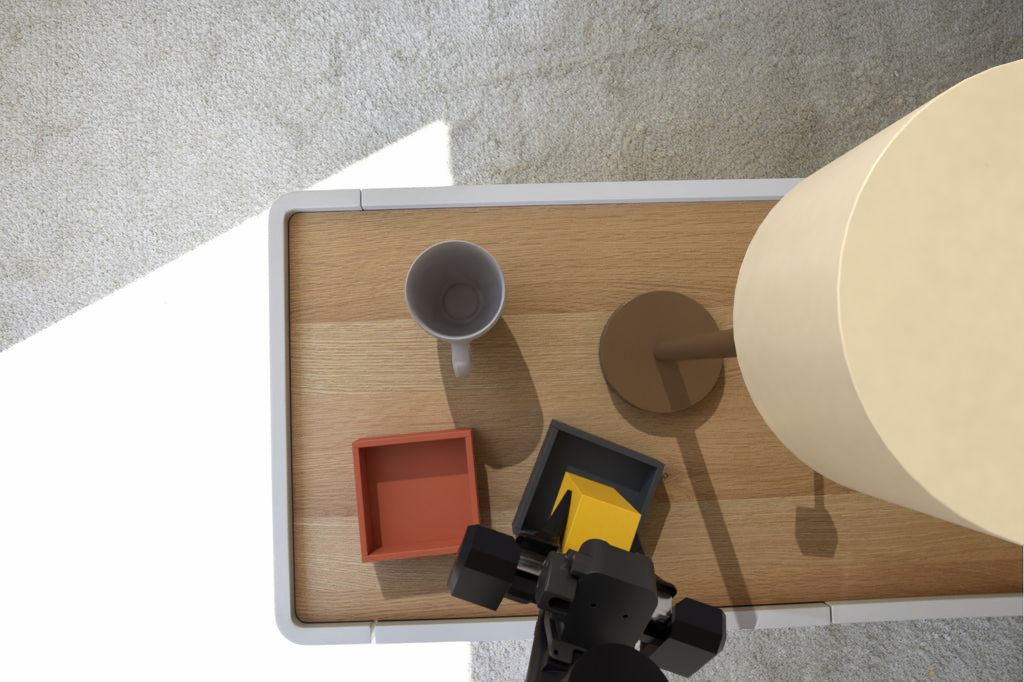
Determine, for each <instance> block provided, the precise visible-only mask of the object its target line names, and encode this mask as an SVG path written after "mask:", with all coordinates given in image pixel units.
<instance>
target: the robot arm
mask: <svg viewBox="0 0 1024 682" xmlns="http://www.w3.org/2000/svg"><path fill="white" fill-rule="evenodd" d="M571 497H572V490H569V489H568V490H567V491H566V493H565V494H564V496H563V498H562V499H561V501H560V502H559V504H558V506H557V507H556V509H555V510H554V512H553V514H552V515H551V517H550V518H549V520H548V521H547V522H546V523H545V525H544V526H543V527H542V528H541V529H540V530H539V531H538V532H537V533H535V534H534V535H531V534H528V533H520V534H518V535H516V536H515V537H514V536H513V535H510V534H507V533H504V532H501V531H499V530H495V529H494V528H493V529H492V528H490V527H487V526H484V525H482V524H481V525H479V524H475V525H469V526H468V527H467V529H466V532H465V534H464V537H463V539H462V542H461V544H460V547H459V549H458V552H457V553H455V557H454V560H453V562H452V564H451V569H450V571H449V574H448V577H447V580H446V587H447V589H448V593H449V594H450V596H451V597H453V598H455V599H459V600H461V601H464V602H467V603H471V604H474V605H476V606H479V607H482V608H485V609H487V610H491V611H494V612H497V611H498V609H499V608H500V606H501V603H502V602H503V600H504V599H507V600H509V601H512V602H515V603H518V604H521V605H529V604H533V605H536V608H537V609H539V610H538V615H537V619H536V622H535V625H534V630H533V641H532V645H531V651H530V656H529V661H528V665H527V670H526V676H525V679H524V682H670V681H669V680H668V679H669V678H668V677H667V675H665V674H664V671H666V672H669V673H671V674H674V675H678V676H680V677H683V678H686V679H689V678H691V677H692V676H693V675H695V674H696V673H697V672H699V671H700V670H701V669H703V667H705V666H706V665H707V664H708V663H709V662H711V661H712V660H713V659H714V658H715V657H716V656H718V655H719V654H721V652H723V651H724V648H725V645H726V641H727V639H728V638H727V637H728V636H727V635H728V634H727V614H726V613H725V612H724V610H723V609H722V608H719V607H716V606H713V605H711V604H707V603H705V602H702V601H700V600H696V599H693V598H691V597H687V596H686V597H684V598H682V599H681V600H679V601H678V602H676V603H674V605H673V599H674V598H675V597H677V595H678V589H677V587H676V585H675V584H673V583H671V582H669V581H666V580H664V579H663V578H662V577H660V576H659V575H658V574H657V573H656V572H655V564H654V561H653V560H652V559H651V558H650V557H649V556H647V554H645V551H644V549H643V546H642V542H641V539H640V537H639V536H640V535H639V536H638V533H637V530H636V533H635V536H634V539H633V542H632V545H631V548H630V551H627V550H624V549H621V548H618V547H615V546H612V545H610V544H609V543H608V542H606V541H604V540H601V539H589V540H586V541H585V542H584V543H583V544H582V545H581V547H580V549H579V551H575V550H572V549H568V551H567V552H566V553H564V554H562V553H561V552H559V551H557V550H558V549H559V539H560V536H561V532H562V529H563V526H564V523H565V520H566V517H567V514H568V511H569V508H570V504H571ZM638 643H639V649H637V648H636V645H637V644H638ZM662 670H663V671H662Z"/></svg>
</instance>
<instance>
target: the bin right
mask: <svg viewBox="0 0 1024 682" xmlns="http://www.w3.org/2000/svg"><path fill="white" fill-rule="evenodd" d="M665 467H666V464H665V463H664V462H662V461H660V460H658V459H657V458H654V457H651V456H648V455H647V454H644V453H641V452H639V451H636V450H633V449H631V448H629V447H626V446H624V445H621V444H618V443H616V442H612V441H610V440H608V439H605V438H603V437H600V436H598V435H595V434H593V433H590V432H587V431H585V430H582V429H580V428H577V427H575V426H573V425H570V424H567V423H565V422H562V421H559V420H557V419H554V418H552V419H551V420H550V423H549V426H548V428H547V431H546V433H545V436H544V439H543V442H542V444H541V447H540V448H539V452H538V455H537V457H536V460H535V463H534V465H533V467H532V470H531V473H530V474H529V475H530V476H529V478H528V480H527V483H526V486H525V488H524V491H523V494H522V496H521V499H520V501H519V505H518V506H517V509H516V512H515V514H514V517H513V520H512V522H511V531H512V534H513V535H516V536H517V535H518V534H520V533H528V534H531V535H534V534H535V533H537V532H538V531H539V530H540V529H541V528H542V527H543V526H544V525H545V523H546V522H547V521H548V520H549V518H550V517H551V514H552V511H553V508H554V505H555V502H556V499H557V496H558V493H559V490H560V487H561V484H562V482H563V479H564V476H565V473H566V472H568V473H571V474H574V475H577V476H580V477H583V478H586V479H588V480H591V481H594V482H597V483H600V484H603V485H606V486H608V487H611V488H614V489H615V490H616V491H617V492H618V493H619V494H620V495H621V496H622V497H623V498H624V499H625V500H626V501H627V502H628V503H629V504H630V505H631V506H632V507H633V508H634V509H635V510H636V511H638V512H639V513H640V514H641V518H640V521H639V524H638V527H637V533H638V536H640V534H641V532H642V529H643V526H644V523H645V521H646V517H647V515H648V512H649V509H650V507H651V504H652V502H653V499H654V496H655V493H656V491H657V488H658V486H659V483H660V480H661V478H662V474H663V472H664V470H665ZM557 552H558V553H561V550H560V547H559V549H558V550H557Z"/></svg>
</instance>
